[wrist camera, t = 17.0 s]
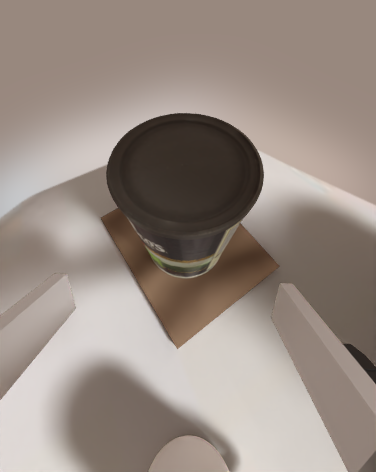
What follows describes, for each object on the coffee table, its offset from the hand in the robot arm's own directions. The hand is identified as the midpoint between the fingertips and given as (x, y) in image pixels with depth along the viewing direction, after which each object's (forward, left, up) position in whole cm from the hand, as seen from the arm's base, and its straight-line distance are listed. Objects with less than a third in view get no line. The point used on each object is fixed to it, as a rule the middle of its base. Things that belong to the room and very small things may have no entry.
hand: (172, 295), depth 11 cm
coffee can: (+6, -5, -11) cm, 14 cm away
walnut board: (+6, -5, -12) cm, 15 cm away
